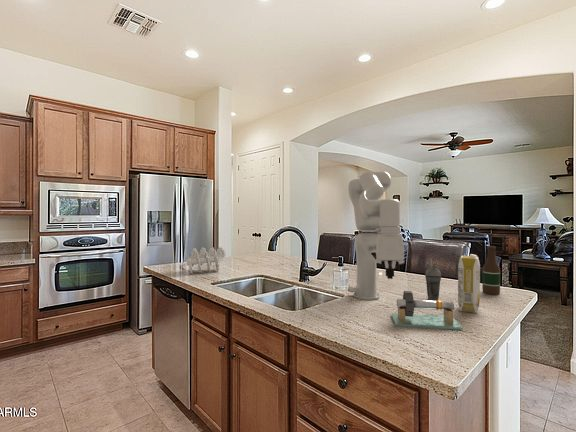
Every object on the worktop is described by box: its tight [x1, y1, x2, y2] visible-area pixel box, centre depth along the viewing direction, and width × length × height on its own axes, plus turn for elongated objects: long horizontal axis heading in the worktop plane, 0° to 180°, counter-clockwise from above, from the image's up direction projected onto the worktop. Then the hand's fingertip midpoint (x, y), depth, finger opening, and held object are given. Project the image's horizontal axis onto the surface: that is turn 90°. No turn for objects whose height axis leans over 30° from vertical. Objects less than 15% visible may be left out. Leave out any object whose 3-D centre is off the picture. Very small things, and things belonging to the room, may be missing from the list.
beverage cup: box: [424, 257, 443, 301], centre depth 153 cm, size 7×7×20 cm
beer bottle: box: [482, 245, 501, 296], centre depth 164 cm, size 8×8×24 cm
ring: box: [402, 290, 415, 317], centre depth 124 cm, size 2×9×9 cm, turn 169°
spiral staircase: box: [185, 246, 226, 274], centre depth 223 cm, size 18×18×25 cm
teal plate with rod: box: [390, 298, 464, 331], centre depth 123 cm, size 23×12×9 cm, turn 79°
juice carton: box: [457, 253, 481, 314], centre depth 137 cm, size 9×8×24 cm
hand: (389, 278), depth 124 cm, fingers closed
